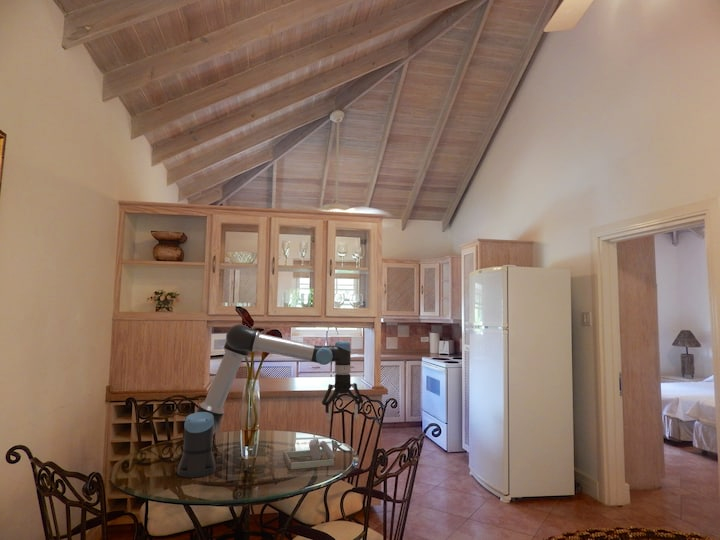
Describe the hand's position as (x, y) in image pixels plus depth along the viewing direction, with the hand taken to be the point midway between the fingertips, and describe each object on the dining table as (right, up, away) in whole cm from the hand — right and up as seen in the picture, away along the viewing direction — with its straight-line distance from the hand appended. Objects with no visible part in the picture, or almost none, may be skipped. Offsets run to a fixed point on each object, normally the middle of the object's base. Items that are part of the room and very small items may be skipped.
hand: (342, 419), depth 209 cm
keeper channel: (-16, -17, -9) cm, 24 cm away
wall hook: (-9, -17, -6) cm, 20 cm away
